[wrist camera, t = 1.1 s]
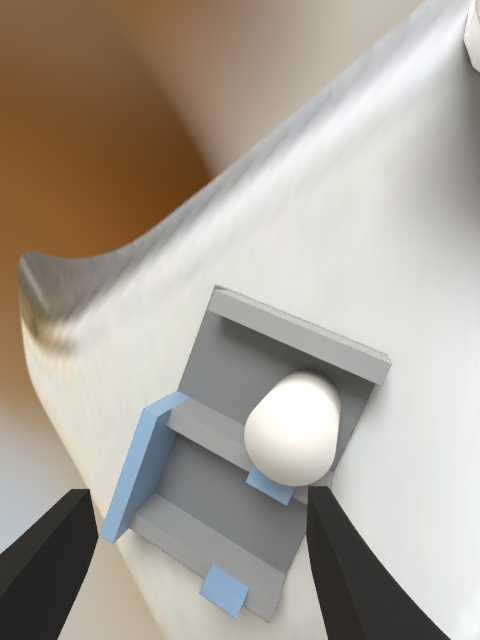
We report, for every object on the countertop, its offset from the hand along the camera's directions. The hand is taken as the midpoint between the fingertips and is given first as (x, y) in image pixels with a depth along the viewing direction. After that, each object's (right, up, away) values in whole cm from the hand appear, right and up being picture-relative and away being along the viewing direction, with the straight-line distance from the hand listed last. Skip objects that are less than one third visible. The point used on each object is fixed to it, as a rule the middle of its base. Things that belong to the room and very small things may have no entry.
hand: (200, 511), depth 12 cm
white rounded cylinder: (+5, +1, +9) cm, 11 cm away
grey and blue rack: (+2, -1, +11) cm, 12 cm away
